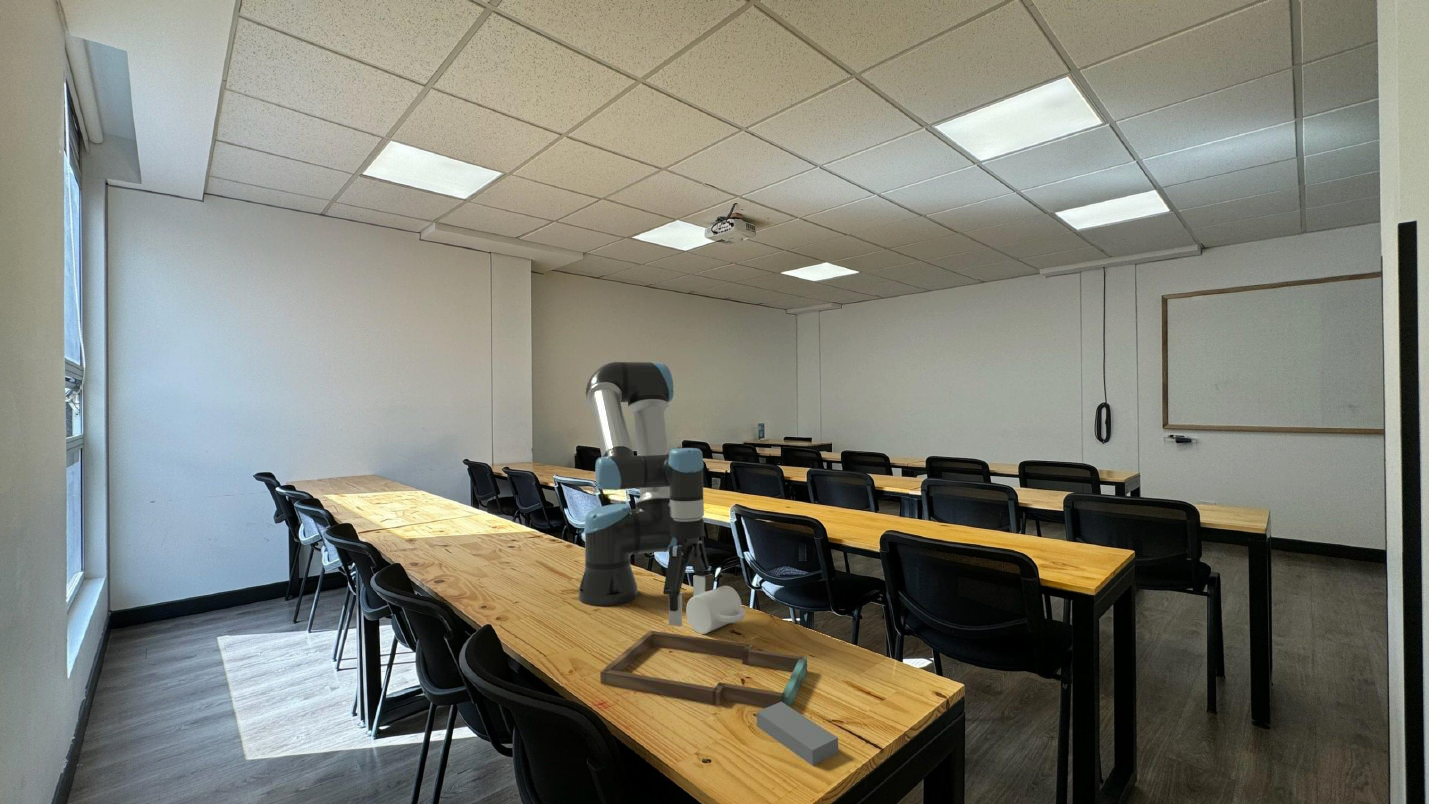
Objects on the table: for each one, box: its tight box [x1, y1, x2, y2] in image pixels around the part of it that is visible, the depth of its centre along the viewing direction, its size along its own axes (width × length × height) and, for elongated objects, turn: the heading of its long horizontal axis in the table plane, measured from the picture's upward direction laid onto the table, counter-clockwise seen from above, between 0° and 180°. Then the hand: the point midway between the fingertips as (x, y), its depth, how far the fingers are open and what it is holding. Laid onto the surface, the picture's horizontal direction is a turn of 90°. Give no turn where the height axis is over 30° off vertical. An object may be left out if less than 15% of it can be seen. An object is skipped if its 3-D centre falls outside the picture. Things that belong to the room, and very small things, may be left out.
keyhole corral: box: [599, 630, 808, 708], centre depth 105 cm, size 19×33×2 cm, turn 70°
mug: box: [685, 585, 747, 635], centre depth 127 cm, size 12×10×8 cm
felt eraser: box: [756, 702, 839, 767], centre depth 84 cm, size 12×5×3 cm, turn 35°
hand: (688, 614), depth 127 cm, fingers open, 13 cm apart
